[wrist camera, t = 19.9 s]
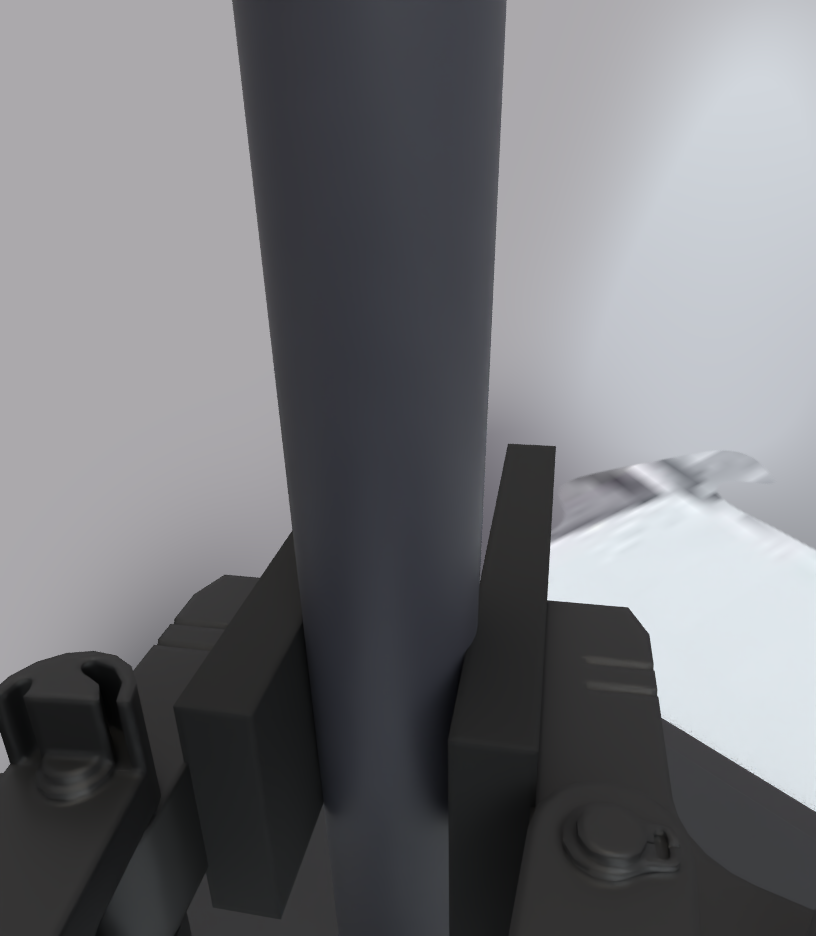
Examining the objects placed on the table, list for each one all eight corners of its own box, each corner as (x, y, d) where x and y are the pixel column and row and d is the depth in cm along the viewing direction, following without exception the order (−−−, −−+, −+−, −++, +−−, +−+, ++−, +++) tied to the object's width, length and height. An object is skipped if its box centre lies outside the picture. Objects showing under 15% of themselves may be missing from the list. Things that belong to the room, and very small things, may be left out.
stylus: (340, 1128, 14) (98, -492, 4) (395, 1035, 15) (327, -371, 5) (421, 1201, 13) (400, -645, 3) (472, 1096, 15) (584, -451, 4)
